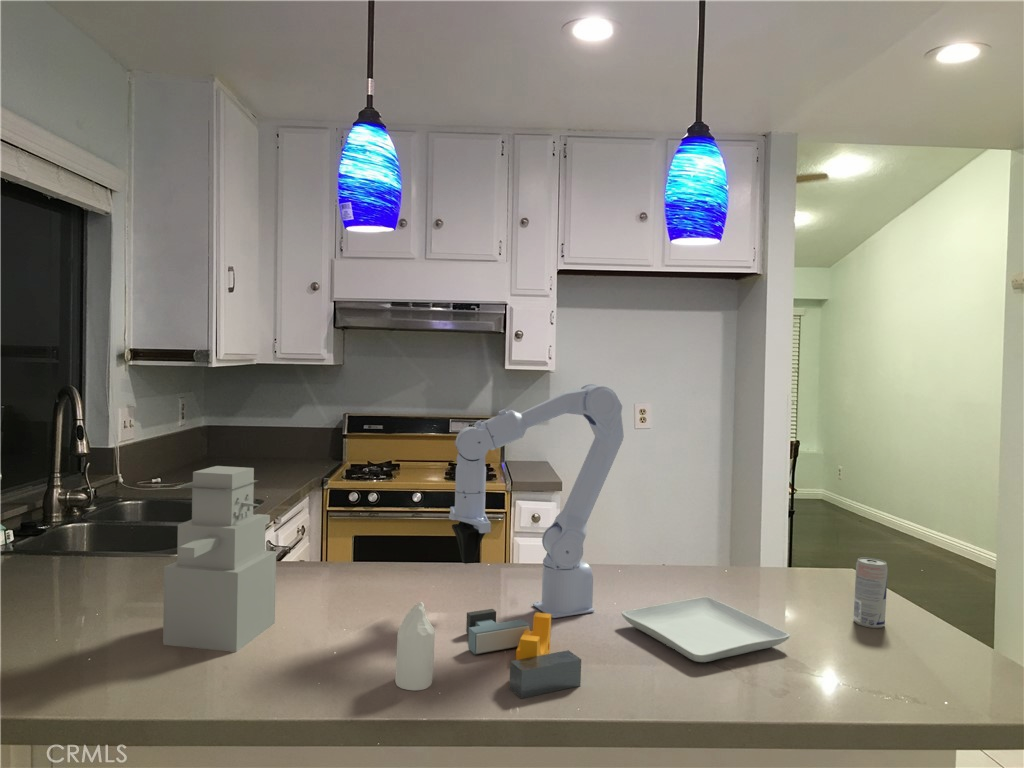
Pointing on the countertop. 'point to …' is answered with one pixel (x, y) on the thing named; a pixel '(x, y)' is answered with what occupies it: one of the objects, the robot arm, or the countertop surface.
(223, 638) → the stacked tiered boxes
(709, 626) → the salad plate
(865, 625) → the energy drink
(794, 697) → the countertop surface
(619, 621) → the countertop surface
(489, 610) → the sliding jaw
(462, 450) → the robot arm
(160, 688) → the countertop surface
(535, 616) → the pipe clamp
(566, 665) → the block
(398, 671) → the pale white bottle
